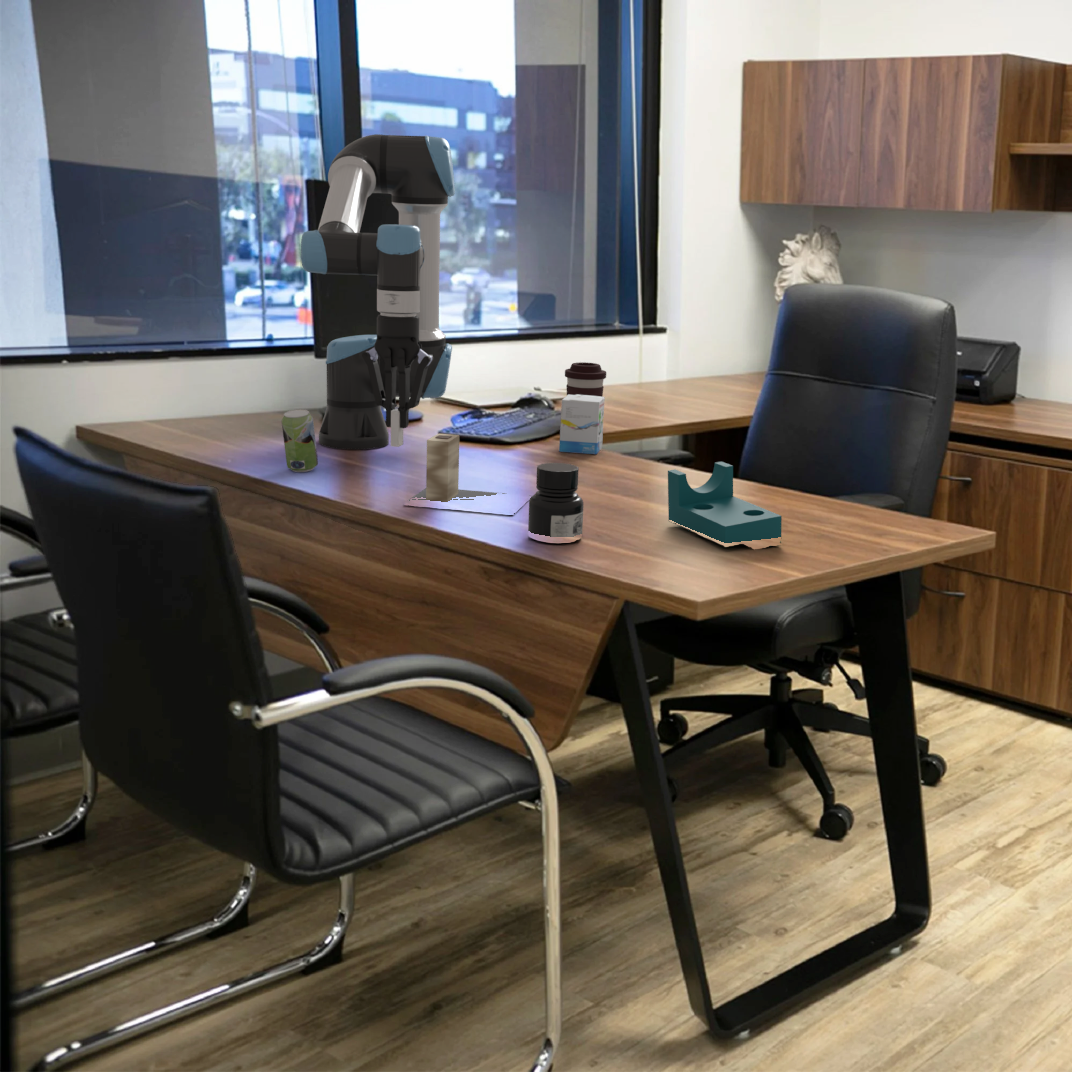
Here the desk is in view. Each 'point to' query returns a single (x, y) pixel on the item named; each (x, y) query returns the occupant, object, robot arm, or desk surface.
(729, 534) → the teal l-shaped bracket
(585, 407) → the ink box
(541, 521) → the ink bottle
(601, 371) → the coffee cup
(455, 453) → the birch block
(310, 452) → the beverage can
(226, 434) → the desk surface
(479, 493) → the felt pad
